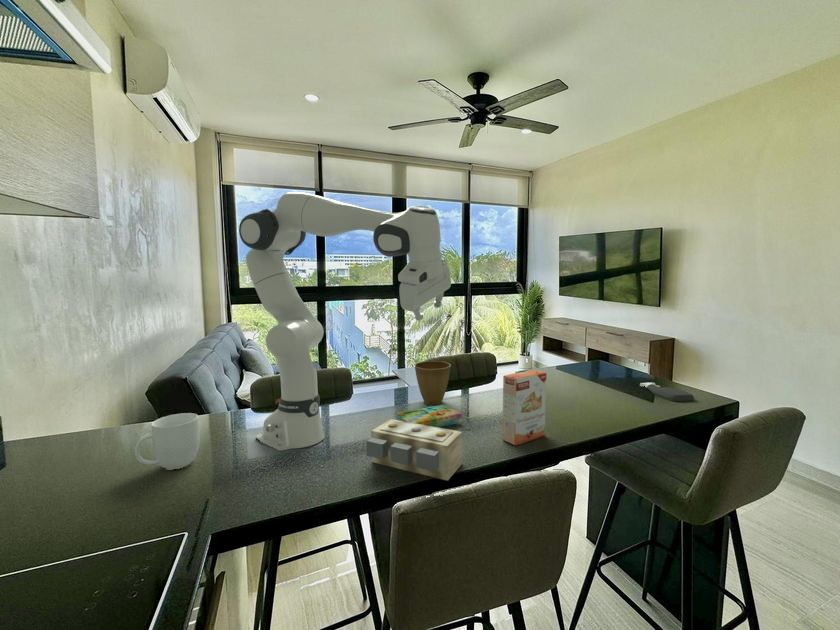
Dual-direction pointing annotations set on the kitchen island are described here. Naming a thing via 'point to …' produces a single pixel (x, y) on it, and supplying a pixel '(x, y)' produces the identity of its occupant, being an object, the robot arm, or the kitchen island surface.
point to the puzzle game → (431, 416)
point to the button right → (427, 459)
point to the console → (422, 446)
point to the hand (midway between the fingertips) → (428, 313)
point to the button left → (377, 448)
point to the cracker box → (524, 406)
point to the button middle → (401, 453)
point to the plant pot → (432, 380)
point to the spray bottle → (669, 392)
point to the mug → (173, 440)
